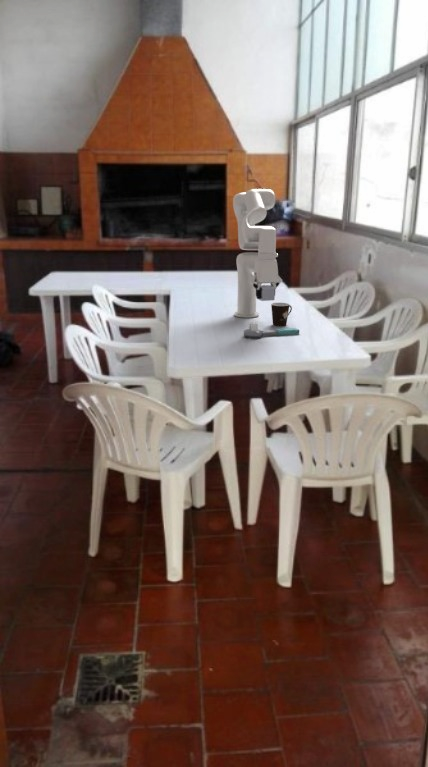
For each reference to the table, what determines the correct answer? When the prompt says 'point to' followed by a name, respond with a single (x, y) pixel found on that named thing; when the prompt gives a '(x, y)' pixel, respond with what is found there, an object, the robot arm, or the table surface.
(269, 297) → the brushed metal cube
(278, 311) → the coffee mug
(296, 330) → the ratchet
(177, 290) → the table surface
